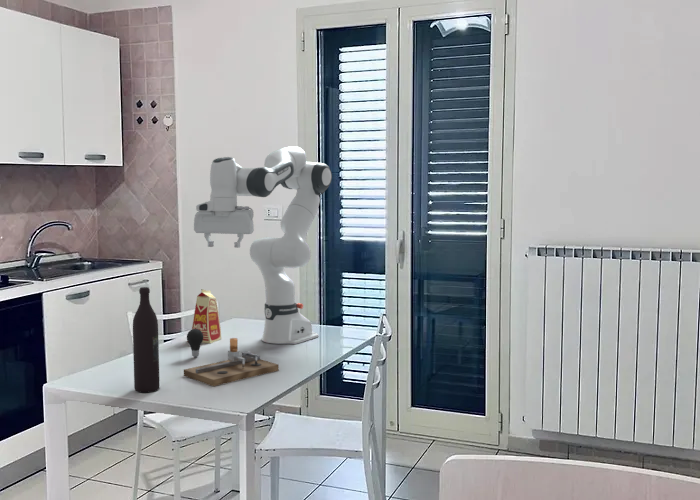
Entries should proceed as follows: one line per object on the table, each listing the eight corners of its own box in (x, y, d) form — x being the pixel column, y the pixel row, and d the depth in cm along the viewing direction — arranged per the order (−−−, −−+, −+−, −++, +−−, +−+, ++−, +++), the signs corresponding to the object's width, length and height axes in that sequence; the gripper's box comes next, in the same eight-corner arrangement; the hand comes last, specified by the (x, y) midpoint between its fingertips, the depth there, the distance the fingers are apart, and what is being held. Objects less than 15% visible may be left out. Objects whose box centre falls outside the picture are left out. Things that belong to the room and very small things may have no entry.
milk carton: (210, 343, 266) (209, 290, 264) (189, 341, 269) (188, 289, 267) (223, 338, 274) (222, 287, 272) (202, 336, 277) (201, 285, 275)
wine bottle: (157, 392, 204) (154, 289, 201) (132, 393, 204) (129, 289, 201) (161, 385, 211) (159, 285, 208) (137, 386, 211) (134, 286, 208)
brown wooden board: (247, 361, 240) (247, 355, 240) (278, 370, 229) (278, 364, 228) (183, 375, 222) (183, 369, 222) (213, 386, 211) (213, 379, 211)
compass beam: (256, 358, 236) (256, 349, 235) (269, 362, 231) (269, 352, 231) (194, 372, 218) (194, 362, 218) (206, 376, 214) (206, 366, 214)
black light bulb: (199, 359, 242) (199, 330, 241) (184, 359, 243) (183, 330, 242) (206, 355, 247) (205, 327, 246) (191, 355, 248) (190, 326, 247)
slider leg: (234, 362, 229) (234, 337, 229) (247, 366, 225) (247, 340, 224) (228, 363, 228) (228, 338, 227) (241, 367, 223) (240, 342, 222)
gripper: (256, 206, 239) (256, 247, 241) (199, 205, 243) (199, 245, 245) (250, 206, 233) (250, 248, 234) (191, 205, 237) (192, 247, 238)
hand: (223, 247), depth 240 cm, fingers open, 8 cm apart
